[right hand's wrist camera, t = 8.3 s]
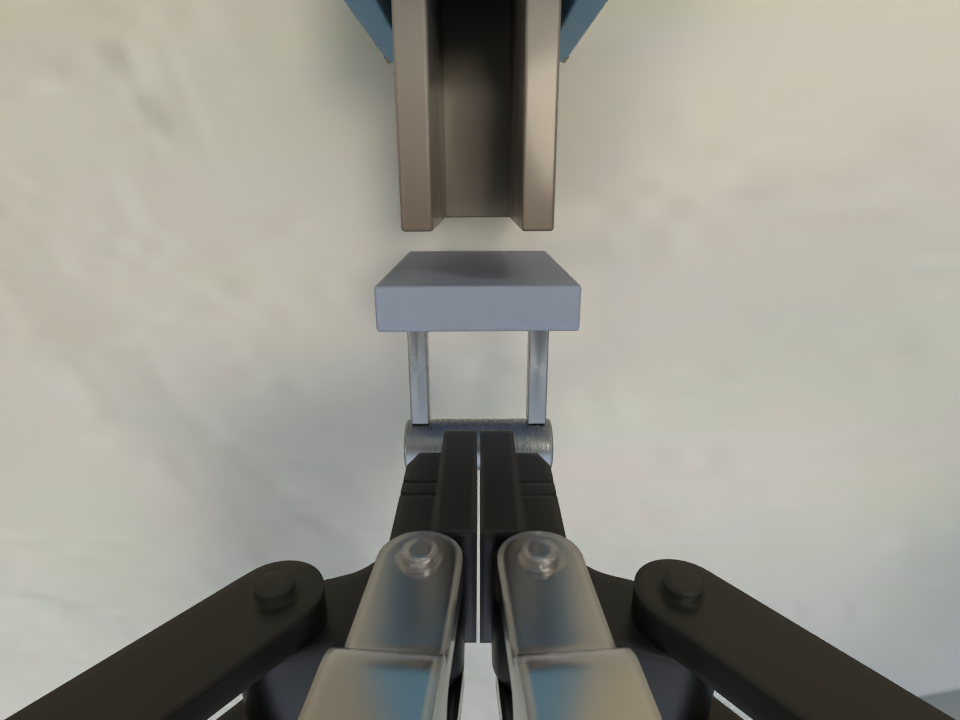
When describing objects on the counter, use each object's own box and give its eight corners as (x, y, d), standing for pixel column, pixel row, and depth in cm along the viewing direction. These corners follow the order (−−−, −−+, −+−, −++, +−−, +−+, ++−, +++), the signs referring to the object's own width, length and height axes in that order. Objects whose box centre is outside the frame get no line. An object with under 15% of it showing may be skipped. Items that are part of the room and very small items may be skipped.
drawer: (540, 413, 24) (570, 518, 16) (415, 414, 24) (387, 519, 16) (563, -357, 17) (636, -804, 9) (384, -357, 16) (308, -803, 9)
